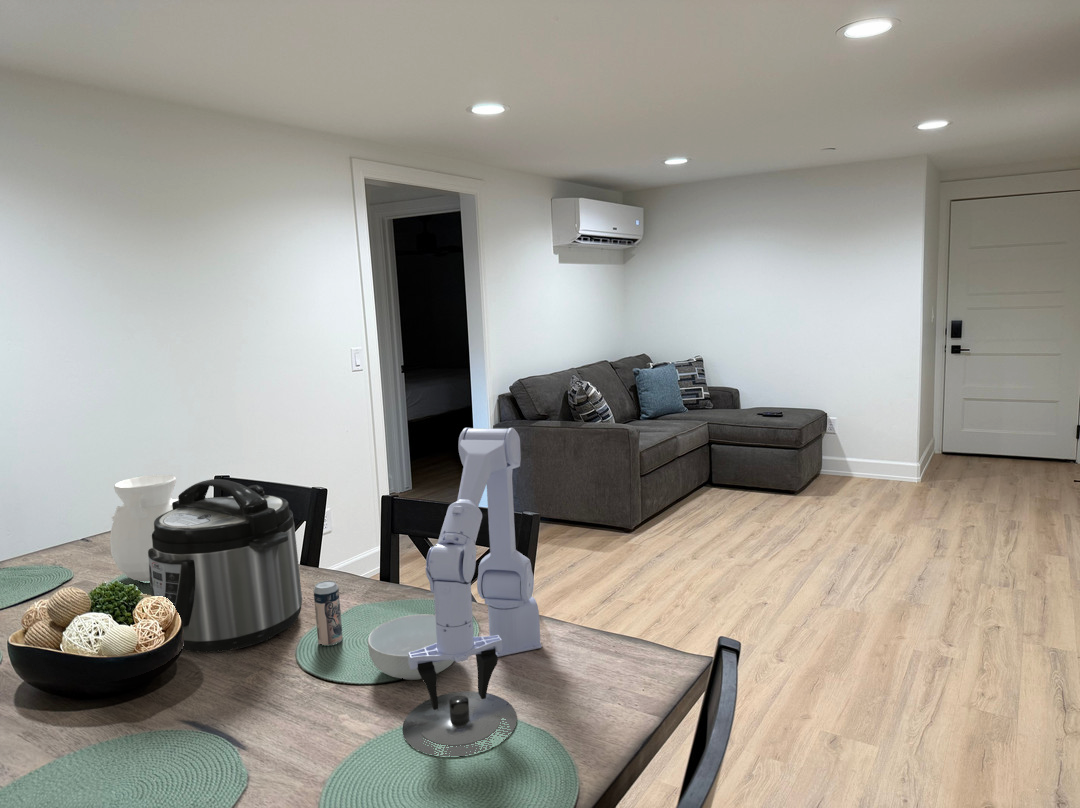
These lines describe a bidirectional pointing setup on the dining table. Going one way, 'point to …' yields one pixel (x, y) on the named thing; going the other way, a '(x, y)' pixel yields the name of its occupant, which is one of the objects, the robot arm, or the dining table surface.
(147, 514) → the pitcher
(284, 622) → the pressure cooker
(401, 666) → the cereal bowl
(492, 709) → the lid
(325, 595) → the beer can
